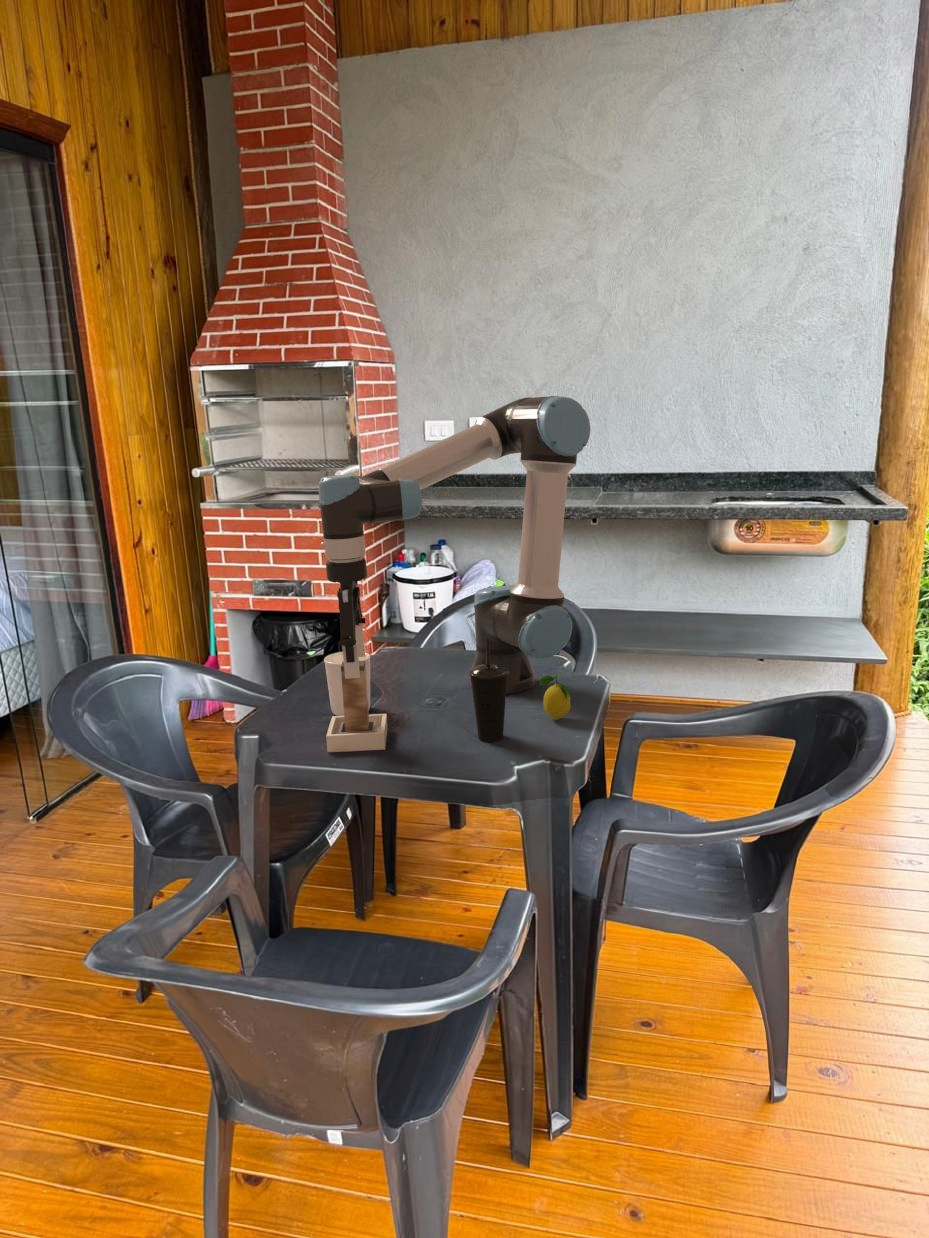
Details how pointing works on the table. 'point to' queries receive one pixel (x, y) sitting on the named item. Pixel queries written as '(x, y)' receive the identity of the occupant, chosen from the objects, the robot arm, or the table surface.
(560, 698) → the lemon
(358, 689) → the brown bar
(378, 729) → the cream open tray
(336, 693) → the cream cup
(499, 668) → the drinking cup
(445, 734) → the table surface
